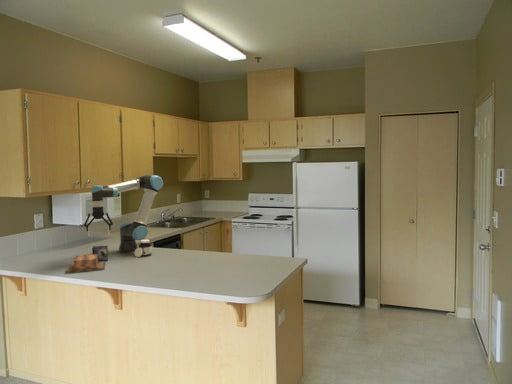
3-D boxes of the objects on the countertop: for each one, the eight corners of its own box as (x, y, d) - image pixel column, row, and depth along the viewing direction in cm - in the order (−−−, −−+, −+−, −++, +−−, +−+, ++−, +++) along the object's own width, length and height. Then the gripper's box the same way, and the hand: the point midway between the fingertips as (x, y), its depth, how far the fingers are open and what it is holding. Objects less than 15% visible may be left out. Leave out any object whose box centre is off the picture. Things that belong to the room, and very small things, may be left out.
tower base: (105, 263, 302) (105, 253, 301) (104, 269, 283) (103, 258, 283) (69, 266, 294) (68, 255, 294) (65, 273, 276) (65, 262, 276)
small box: (92, 262, 306) (91, 248, 305) (93, 260, 312) (92, 246, 311) (107, 261, 309) (107, 246, 308) (108, 259, 315) (107, 245, 314)
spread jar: (153, 254, 328) (152, 239, 327) (148, 257, 317) (147, 242, 316) (138, 254, 330) (138, 239, 329) (133, 257, 318) (132, 242, 317)
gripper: (78, 207, 300) (80, 237, 301) (115, 206, 307) (116, 234, 309) (80, 206, 307) (81, 235, 309) (115, 205, 314) (116, 233, 316)
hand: (99, 235), depth 309 cm, fingers open, 13 cm apart
